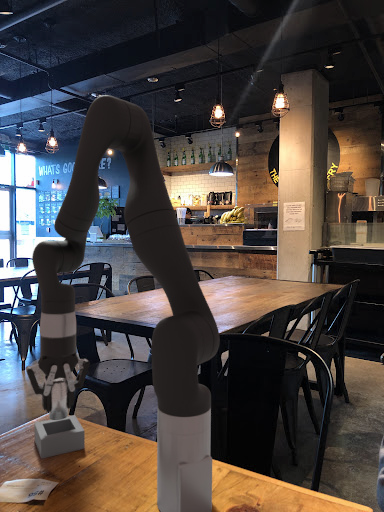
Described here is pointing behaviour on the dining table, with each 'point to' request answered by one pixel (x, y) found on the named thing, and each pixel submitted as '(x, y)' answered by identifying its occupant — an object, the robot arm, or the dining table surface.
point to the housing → (59, 436)
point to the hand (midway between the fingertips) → (58, 408)
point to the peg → (58, 399)
